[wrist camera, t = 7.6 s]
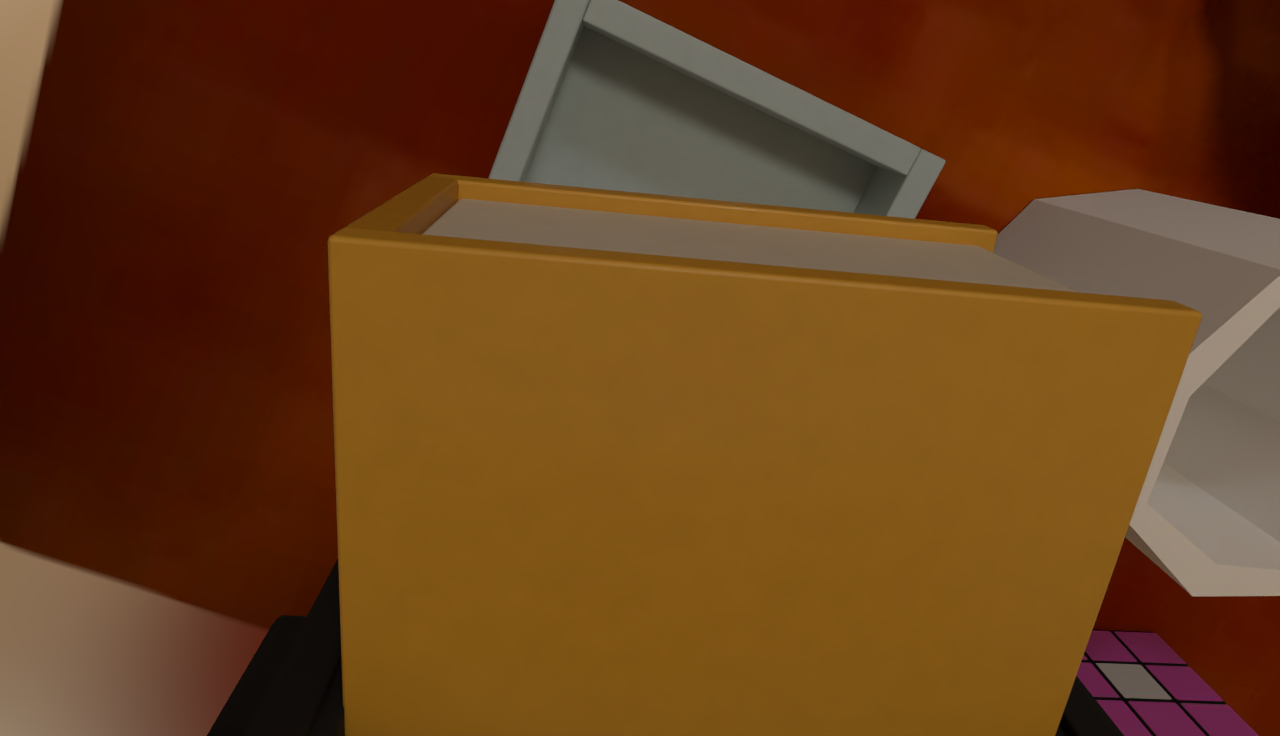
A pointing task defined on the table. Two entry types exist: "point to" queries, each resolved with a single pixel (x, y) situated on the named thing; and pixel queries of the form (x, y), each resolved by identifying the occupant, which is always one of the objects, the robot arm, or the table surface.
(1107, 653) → the puzzle toy
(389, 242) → the book
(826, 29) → the table surface
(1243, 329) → the mug
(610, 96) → the tray
